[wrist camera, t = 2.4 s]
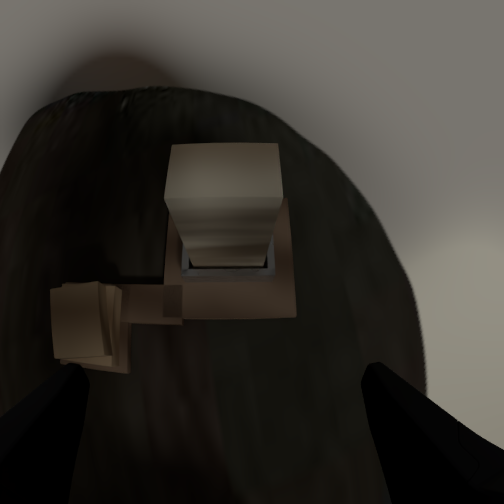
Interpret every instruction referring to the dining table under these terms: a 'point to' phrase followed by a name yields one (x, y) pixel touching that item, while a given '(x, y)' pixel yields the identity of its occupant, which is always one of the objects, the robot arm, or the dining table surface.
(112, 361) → the lower offcut
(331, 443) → the dining table surface
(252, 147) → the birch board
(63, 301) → the upper offcut
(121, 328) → the rack
